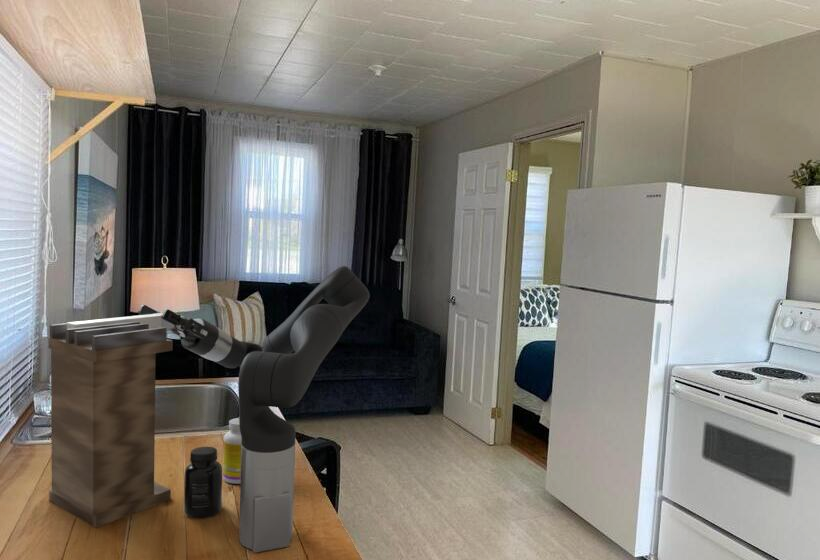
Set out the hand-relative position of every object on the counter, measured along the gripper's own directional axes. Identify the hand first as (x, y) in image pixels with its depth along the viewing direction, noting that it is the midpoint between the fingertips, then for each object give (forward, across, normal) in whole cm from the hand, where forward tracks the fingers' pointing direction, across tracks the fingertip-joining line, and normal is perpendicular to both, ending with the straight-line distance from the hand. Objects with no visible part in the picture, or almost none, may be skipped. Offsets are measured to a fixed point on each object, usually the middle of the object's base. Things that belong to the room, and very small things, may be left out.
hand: (152, 311), depth 129 cm
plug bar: (+4, 0, +6) cm, 7 cm away
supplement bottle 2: (-28, +15, +26) cm, 41 cm away
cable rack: (-8, +4, +37) cm, 38 cm away
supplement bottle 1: (-15, +22, +33) cm, 42 cm away
